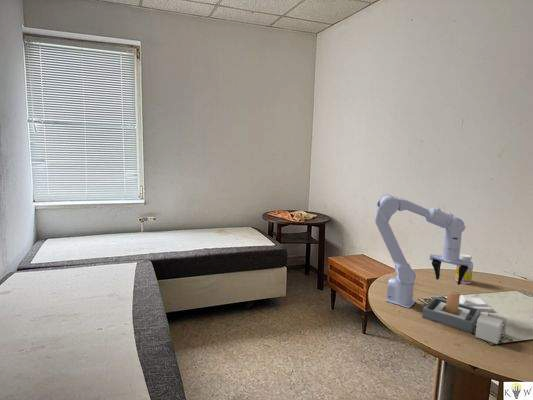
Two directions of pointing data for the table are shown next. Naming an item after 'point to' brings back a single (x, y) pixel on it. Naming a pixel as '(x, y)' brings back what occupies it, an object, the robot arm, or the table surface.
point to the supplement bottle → (468, 274)
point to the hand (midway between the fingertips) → (448, 281)
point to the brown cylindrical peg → (452, 302)
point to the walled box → (451, 315)
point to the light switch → (475, 303)
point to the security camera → (491, 327)
